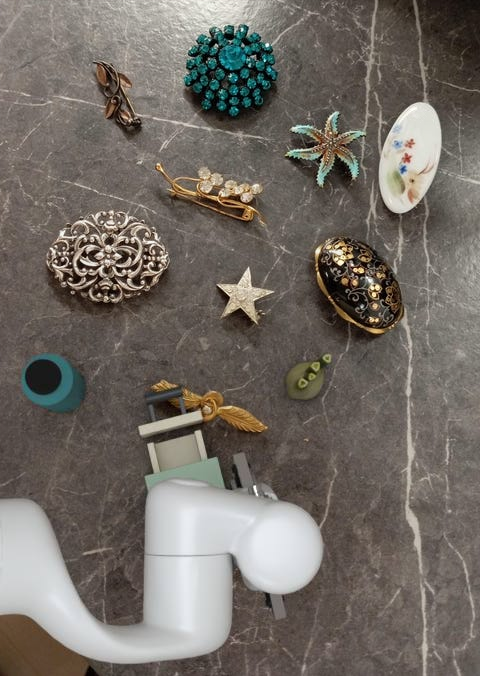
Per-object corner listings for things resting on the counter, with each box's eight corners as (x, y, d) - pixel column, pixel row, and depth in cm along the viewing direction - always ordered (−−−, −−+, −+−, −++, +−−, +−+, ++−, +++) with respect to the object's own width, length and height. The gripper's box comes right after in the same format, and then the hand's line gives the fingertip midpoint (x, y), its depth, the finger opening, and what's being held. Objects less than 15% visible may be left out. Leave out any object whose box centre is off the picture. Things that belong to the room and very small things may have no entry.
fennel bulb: (316, 359, 126) (330, 347, 114) (328, 393, 125) (343, 384, 113) (277, 372, 125) (287, 361, 113) (288, 406, 124) (299, 398, 112)
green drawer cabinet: (147, 476, 121) (144, 476, 112) (215, 458, 122) (217, 456, 114) (165, 555, 118) (163, 560, 110) (234, 536, 119) (238, 540, 111)
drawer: (133, 400, 122) (131, 396, 116) (192, 385, 123) (193, 380, 117) (156, 499, 119) (155, 500, 113) (216, 483, 120) (218, 483, 114)
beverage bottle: (97, 380, 123) (81, 362, 104) (72, 424, 122) (51, 414, 102) (55, 358, 124) (31, 335, 104) (30, 401, 122) (1, 386, 103)
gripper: (207, 459, 88) (202, 463, 104) (252, 644, 84) (240, 617, 100) (281, 439, 88) (265, 446, 105) (329, 621, 85) (305, 599, 101)
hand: (253, 530), depth 103 cm, fingers open, 9 cm apart
